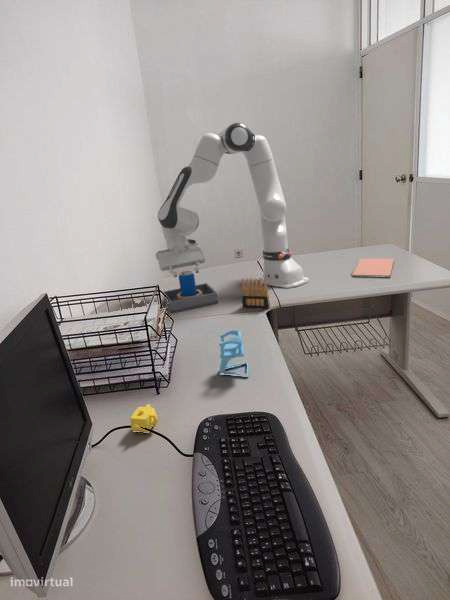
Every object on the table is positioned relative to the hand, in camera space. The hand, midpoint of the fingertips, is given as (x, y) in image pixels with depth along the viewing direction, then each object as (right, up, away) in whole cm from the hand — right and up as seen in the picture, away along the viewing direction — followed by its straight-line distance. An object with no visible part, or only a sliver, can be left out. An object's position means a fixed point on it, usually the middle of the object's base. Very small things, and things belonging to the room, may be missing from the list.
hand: (186, 274), depth 170 cm
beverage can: (+1, -11, +3) cm, 11 cm away
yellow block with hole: (-2, -41, -76) cm, 86 cm away
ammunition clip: (+28, -14, -11) cm, 33 cm away
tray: (+2, -12, +3) cm, 12 cm away
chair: (+19, -31, -56) cm, 66 cm away
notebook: (+85, +3, +20) cm, 88 cm away
